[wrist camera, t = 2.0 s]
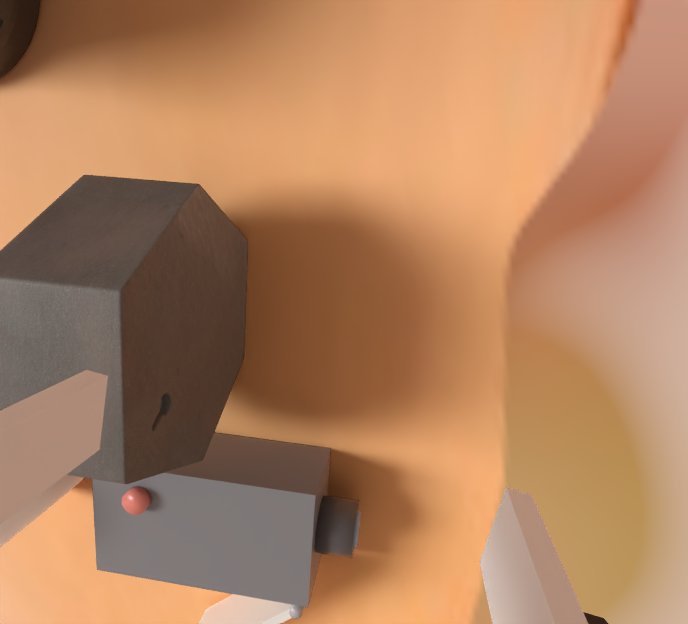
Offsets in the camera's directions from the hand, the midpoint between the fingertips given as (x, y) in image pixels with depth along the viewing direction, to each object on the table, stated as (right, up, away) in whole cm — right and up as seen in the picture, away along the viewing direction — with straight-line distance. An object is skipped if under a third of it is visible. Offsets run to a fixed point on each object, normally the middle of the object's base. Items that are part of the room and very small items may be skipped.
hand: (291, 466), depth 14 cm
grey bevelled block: (-10, +6, +25) cm, 28 cm away
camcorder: (-7, -11, +28) cm, 31 cm away
